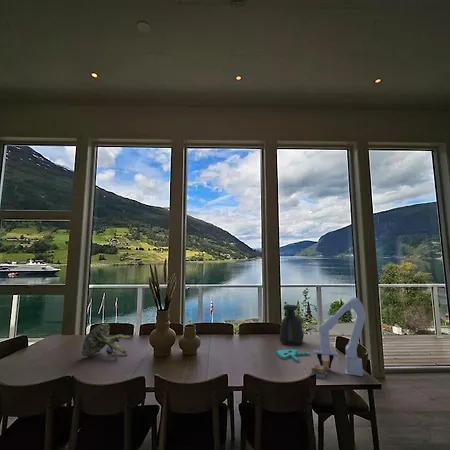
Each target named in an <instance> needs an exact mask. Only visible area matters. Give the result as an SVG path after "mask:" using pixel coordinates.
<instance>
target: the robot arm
mask: <svg viewBox="0 0 450 450" xmlns="http://www.w3.org/2000/svg"><path fill="white" fill-rule="evenodd" d="M352 310H353V311H354V312H355V314H356V318H355V322H354V325H353V329H352V331H351V332H352V333H351V335H350V339H349V341H348V343H347V344H346V346H345V348H344V349H345V355H344V357H345V359H344V362H345V370H344V372H345V373H344V374H345V375H352V376H357V377H359V376H360V377H363V376H364V368H363V360H362V358H361V357H359V356H358V352H357V349H358V345H359V342H360V341H359V340H360V338H361V335H362V331H363V328H364V324H365V321H366V317H367V313H366V310H365V308H364V305H363V303H362V302H361V300H360V299H359V298H358V297H351V298H350V299H349V300H347V301H346V302H345V303H344V304H342V306H341V307H340V308H339V309H338V310H337V311H336V313H334V314H331V315H328V316H327V318H326V319H325V320H324V321H322V322H321V325H319V328H318V332H319V350H318V349H317V350H316V349H312V350H313V351H312V355H316V357H317V359H318V361H319V365H320V366H322V360H323V357H322V356H328V357H329V360H328V361H329V364H330V366H329V367H330V369H331V368H332V364H333V360H334V358H335V357H339V354H338V353H339V352H336V351H331V345H330V334H329V332H330V330H332V329H333V328H334V327H335V326H336V325H337V324H338V323H339V319H340V318H341V317H342V316H343V315H344V314H345V313H346V312H348V311H352Z"/></svg>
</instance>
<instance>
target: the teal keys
mask: <svg viewBox="0 0 450 450" xmlns="http://www.w3.org/2000/svg"><path fill="white" fill-rule="evenodd" d="M275 355H277V357H278V358H279V360H280V359H281V360H284V361H285V360H288V359H289V358H291V360H292V361H293V362H294V363H299V362H300V359H299V358H298V357H309V356H310V355H311V352H309V351H307V352H299V350H298V349H279V350H277V351H276V352H275Z"/></svg>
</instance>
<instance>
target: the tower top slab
mask: <svg viewBox="0 0 450 450" xmlns="http://www.w3.org/2000/svg"><path fill="white" fill-rule="evenodd" d="M311 370H312V373H318V374H324V371H325V366H321V365H320V364H319V365H318V364H312V366H311V369H310V371H311ZM325 372H326V371H325Z"/></svg>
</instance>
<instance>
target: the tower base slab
mask: <svg viewBox="0 0 450 450" xmlns="http://www.w3.org/2000/svg"><path fill="white" fill-rule="evenodd" d="M326 372H327V371H324V374H318V373H312V370H311V369H310V371H309V376H310V375H311V374H316V377H315V378H318V379H325V378H326V374H327V373H326Z"/></svg>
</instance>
